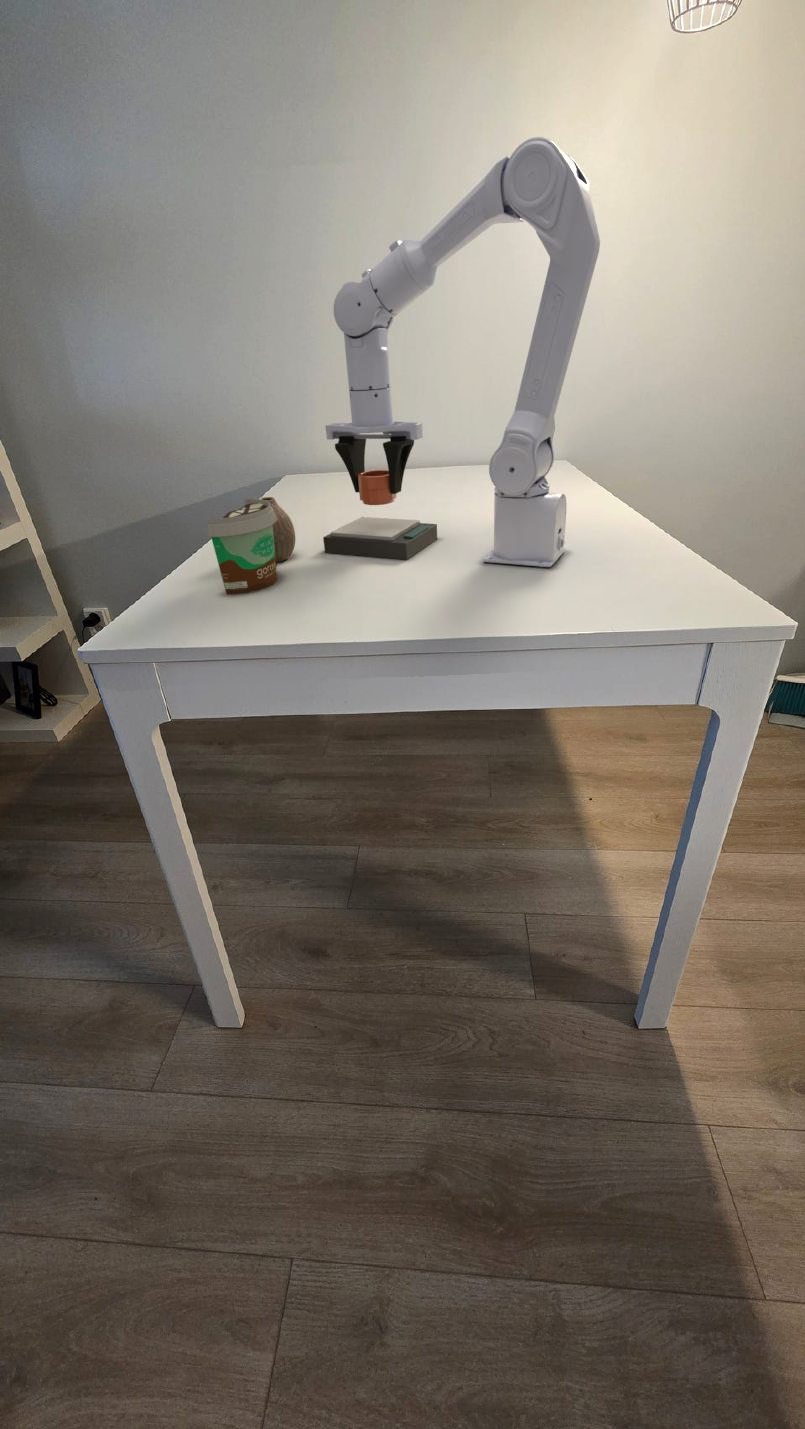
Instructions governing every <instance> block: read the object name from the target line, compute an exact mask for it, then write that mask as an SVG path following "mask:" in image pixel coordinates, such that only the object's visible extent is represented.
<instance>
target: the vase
mask: <svg viewBox="0 0 805 1429" xmlns="http://www.w3.org/2000/svg"><path fill="white" fill-rule="evenodd" d="M259 499H262V500H266V501H268V502H269V503H270V506H272V507H273V510H274V512H275V515H276V518H277V521H276V522H275V523H274V524H272V525H273V537H274V548H275V559H276V563H278V562H283V561H286V560H287V559H289V557H291V555H292V554H293V552H294V550H295V546H296V531H295V526H294V524H293V521H292V519H291V517H290V516H289V514H288V513H287V512H286V511H285V510H284V509H283V507H281V506H280V505H279V504H278V502H277V500H276V499H275V498H274V497H273V496H264V497H260V498H259Z"/></svg>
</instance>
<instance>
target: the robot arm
mask: <svg viewBox="0 0 805 1429" xmlns="http://www.w3.org/2000/svg"><path fill="white" fill-rule="evenodd" d="M590 189H591V188H590V182H589V180H588V178H587V177H586V176H585V174H584V172H583V171H582V169H581V168H580V166H579V165H578V163H577V162H576V161H575V159H574V158H573V157H571V156H570V155H569V154H566V153H564V152H563V151H562V150H561V149H560V148H559V147H558V146H557V145H556V143H555V142H553V140H551V139H549V138H547V137H543V136H533V137H531V138H528V139H526V140H524V141H523V142H521V143H520V144H519V145H518V146H517V147H516V148H515V149H514V151H513V152H512V153H511V155H510V156H509V155H506V156H505V157H503V158H502V159H500V160H499V161H497V162H496V163H495V164H494V165H493V166H492V168H490V170H489V172H488V173H487V174H486V176H484V178H482V179H481V180H480V182H478V184H477V185H476V186H474V187H473V188H472V189H471V190H470V192H468V193H467V194H466V195H465V196H464V197H463V198H462V199H461V200H460V201H459V202H458V203H457V204H456V205H455V206H454V207H453V208H452V209H451V210H450V211H449V212H448V213H447V214H446V215H445V216H444V217H443V218H442V219H441V220H440V221H439V222H438V223H437V224H436V225H435V226H434V227H433V228H432V229H431V230H430V231H429V232H428V233H427V234H426V235H425V236H424V237H423V238H422V239H421V240H418V239H414V238H410V237H407V238H405V239H403V240H399V239H395V240H394V241H393V242H392V243H391V244H390V245H389V246H388V248H389V250H390V253H388V254H387V255H386V256H385V257H384V258H383V259H381V261H379V263H378V264H376V265H375V266H374V267H373V268H372V269H368V268H367V269H365V270H364V271H363V272H362V273H361V277H362V278H361V281H360V282H359V281H348V282H345V283H343V284H342V287H341V288H340V289H339V291H338V292H337V294H336V296H335V298H334V301H333V317H334V320H335V323H336V325H337V327H338V328H339V329H340V331H341V332H342V333H343V338H344V339H343V342H344V350H345V351H344V352H345V360H346V361H345V362H346V371H347V372H346V373H347V382H348V390H349V391H348V392H349V394H348V395H349V404H350V416H351V422H340V423H339V422H335V423H329V424H325V434H326V435H325V436H326V440H337V439H338V440H337V441H338V442H336V443H335V444H334V450H335V451H336V452H337V454H338V456H340V458H341V460H342V462H343V463H344V466H345V468H346V470H347V472H348V475H349V477H350V480H351V483H352V486H353V489H354V492H355V493H359V483H358V474H359V473H362V472H366V467H365V458H366V457H365V456H366V444H367V440H387V441H385V442H382V448H383V451H384V454H385V458H386V464H387V470H389V484H390V491H391V494H396V495H397V494H399V493H400V492H402V489H403V488H402V486H403V479H404V474H405V470H406V466H407V462H408V459H409V457H410V454H411V452H412V450H413V447H414V445H415V441H417V440H421V439H423V437H424V436H423V435H424V434H423V422H411V421H410V422H408V421H407V422H406V421H393V404H392V388H391V387H392V386H391V376H390V359H389V356H390V355H389V340H388V333H389V331H390V328H391V326H392V324H393V321H394V318H395V317H396V316H398V315H399V314H400V313H401V312H402V311H403V310H405V309H406V308H408V306H410V305H411V304H412V303H414V301H416V300H417V299H418V298H419V297H421V296H422V295H423V294H424V293H425V292H426V291H428V290H429V289H430V288H431V287H433V286H434V283H435V280H436V274H437V270H438V267H440V266H441V265H442V264H443V263H445V262H446V261H447V260H448V259H450V258H451V257H453V256H454V255H455V254H457V253H458V252H460V250H462V249H463V248H464V247H466V246H467V245H468V244H469V243H471V242H472V241H474V240H475V239H476V238H478V236H480V235H481V234H483V233H484V232H486V230H488V229H489V228H490V227H492V226H493V225H497V224H512V223H513V224H515V223H524V222H526V223H527V224H528V225H530V227H532V228H533V229H534V230H535V233H536V235H537V237H538V238H539V240H540V243H541V244H542V245H543V247H544V249H545V251H546V253H547V255H548V256H549V263H548V267H547V268H548V269H547V272H546V277H545V281H544V285H543V290H542V293H541V298H540V302H539V305H538V311H537V314H536V319H535V323H534V327H533V332H532V335H531V340H530V344H529V348H528V352H527V357H526V361H525V364H524V370H523V373H522V378H521V382H520V386H519V390H518V395H517V399H516V403H515V406H514V407H515V408H514V411H513V413H512V415H511V417H510V419H509V421H508V423H507V424H506V427H505V430H504V432H503V436H502V440H501V443H500V445H499V446H498V447H497V448H496V449H495V451H494V452H493V454H492V455H491V458H490V460H489V465H488V473H489V478H490V481H491V483H492V484H493V486H494V492H493V493H494V496H493V497H494V498H493V499H494V501H493V504H494V505H493V507H494V508H493V550H492V551H491V552H489V553H488V554H486V556H485V557H484V558H483V562H484V563H495V564H507V565H516V566H517V565H519V566H530V567H542V568H551V567H552V566H553V565H554V564H555V562H557V561H558V559H559V558H560V557H561V556H562V555H563V553H564V552H565V551H566V548H565V536H566V522H567V498H566V495H565V494H564V493H561V492H553V491H551V490H550V484H549V482H548V480H547V478H546V476H547V475H548V474H549V473H550V472H551V469H552V468H553V465H554V462H555V453H554V452H555V451H554V447H553V446H554V445H553V440H554V435H555V431H556V422H555V415H556V412H557V411H556V410H557V407H558V404H559V400H560V396H561V393H562V389H563V386H564V383H565V382H564V381H565V379H566V374H567V370H568V367H569V363H570V361H571V356H572V352H573V349H574V345H575V341H576V338H577V335H578V332H579V331H578V330H579V326H580V324H581V319H582V316H583V312H584V308H585V305H586V302H587V297H588V294H589V290H590V286H591V283H592V279H593V275H594V271H595V268H596V264H597V261H598V258H599V253H600V245H601V239H600V238H601V237H600V235H599V230H598V226H597V225H598V224H597V221H596V216H595V212H594V211H595V210H594V208H593V202H592V197H591V190H590ZM377 433H378V434H377ZM379 433H382V434H379Z"/></svg>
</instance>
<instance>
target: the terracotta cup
mask: <svg viewBox="0 0 805 1429" xmlns="http://www.w3.org/2000/svg"><path fill="white" fill-rule="evenodd" d="M358 483H359V492H358V493H359V501H361V502H362V503H363V504H364V505H366V506H383V505H389V504H391V503H394V502H395V500H396V498H397V493H396V494H391V491H390V484H389V469H375V470H373V469H372V470H367V471H366V470H365V472H362V473H359V474H358Z"/></svg>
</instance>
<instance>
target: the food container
mask: <svg viewBox="0 0 805 1429" xmlns="http://www.w3.org/2000/svg"><path fill="white" fill-rule="evenodd" d="M243 500H244V506H242V507H241V508H239V509H236V510H235V509H234V510H231V511H228V512H227V513H226V514H225V515H224V516H223V517H220V518H207V519H206V522H207V525H206V528H207V538H211V542H212V545H213V549H214V553H215V556H216V561H217V564H218V569H219V571H220V576H221V580H222V582H223V587H224V590H225V594H226V595H242V594H249V593H254V592H259V591H261V590H264V589H267V588H269V587H271V586H273V585H274V584H276V582H277V581H278V573H277V562H276V559H275V548H274V537H273V525H272V524H274V523H275V522H276V521H277V518H276V515H275V512H274V510H273V507H272V506H270V503H269V502H268V501H266V500H262V499H260V498H246V497H245V498H244V499H243Z"/></svg>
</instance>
